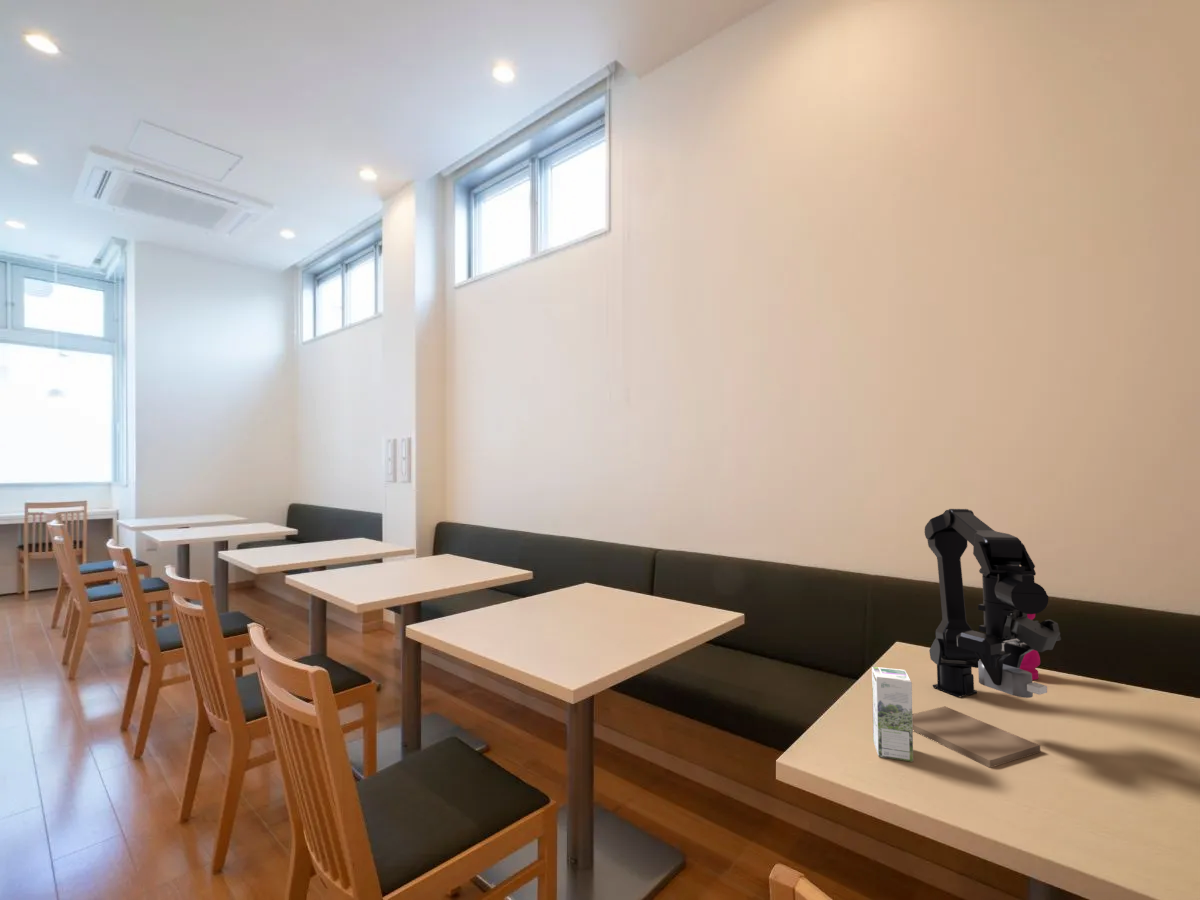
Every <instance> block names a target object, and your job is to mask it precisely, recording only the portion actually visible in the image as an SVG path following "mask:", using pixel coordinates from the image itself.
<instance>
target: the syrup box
mask: <svg viewBox="0 0 1200 900" xmlns="http://www.w3.org/2000/svg"><path fill="white" fill-rule="evenodd" d="M871 684H872V685H871V686H872V688H871V691H872V694H871V695H872V738H873V740H872V741H873V744H874V747H875V751H876V753H877V756H878V757H880V758H886V759H891V760H892V759H893V760H898V761H906V762H914V741H913V740H914V734H913V733H914V731H913V725H912V714H913V683H912V681H911V679H910V677H909V675H908V673H907V671H906V669H899V668H891V667H890V668H888V667H879V666H872V667H871Z"/></svg>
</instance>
